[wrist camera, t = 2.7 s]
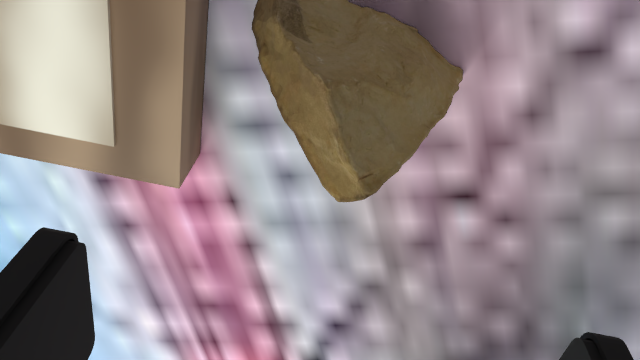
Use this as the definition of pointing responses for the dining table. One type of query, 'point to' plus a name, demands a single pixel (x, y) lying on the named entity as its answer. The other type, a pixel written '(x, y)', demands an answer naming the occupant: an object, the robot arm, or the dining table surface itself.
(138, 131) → the stand
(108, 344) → the dining table surface
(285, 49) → the rock
